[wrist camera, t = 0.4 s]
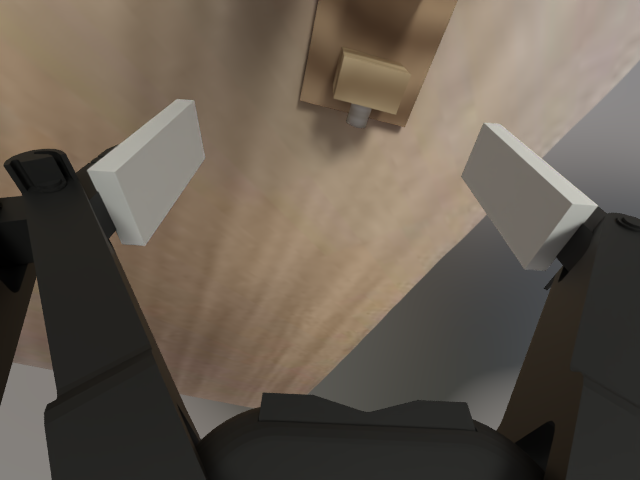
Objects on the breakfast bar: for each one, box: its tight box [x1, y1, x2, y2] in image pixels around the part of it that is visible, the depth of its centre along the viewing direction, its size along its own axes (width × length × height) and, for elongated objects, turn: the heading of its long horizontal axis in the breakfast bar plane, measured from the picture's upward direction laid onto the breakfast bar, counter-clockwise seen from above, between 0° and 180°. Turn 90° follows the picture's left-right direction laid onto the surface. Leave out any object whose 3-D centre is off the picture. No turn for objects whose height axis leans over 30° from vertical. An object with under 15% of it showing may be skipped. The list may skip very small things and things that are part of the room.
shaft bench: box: [300, 0, 458, 128], centre depth 31 cm, size 20×14×7 cm
